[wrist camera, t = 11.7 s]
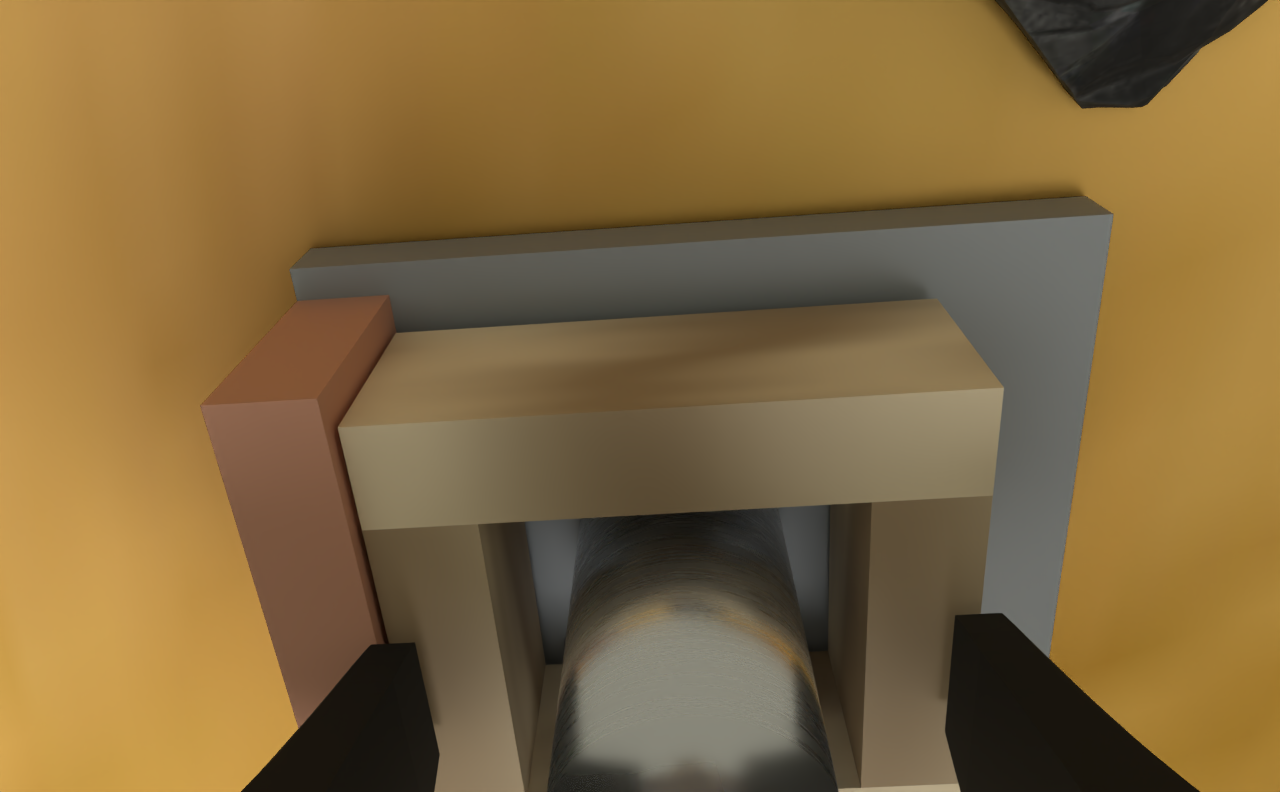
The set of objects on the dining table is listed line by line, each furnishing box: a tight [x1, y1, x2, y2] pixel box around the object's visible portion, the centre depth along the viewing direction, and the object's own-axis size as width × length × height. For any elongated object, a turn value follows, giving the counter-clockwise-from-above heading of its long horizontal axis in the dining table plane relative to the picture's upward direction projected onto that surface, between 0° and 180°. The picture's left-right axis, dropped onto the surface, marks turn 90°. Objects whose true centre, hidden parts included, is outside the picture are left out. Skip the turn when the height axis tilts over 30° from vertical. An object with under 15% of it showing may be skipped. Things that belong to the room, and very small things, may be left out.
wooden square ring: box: [338, 298, 1004, 792], centre depth 15 cm, size 8×8×3 cm
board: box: [200, 196, 1113, 728], centre depth 17 cm, size 12×18×4 cm, turn 4°
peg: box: [547, 508, 839, 792], centre depth 14 cm, size 3×3×6 cm
